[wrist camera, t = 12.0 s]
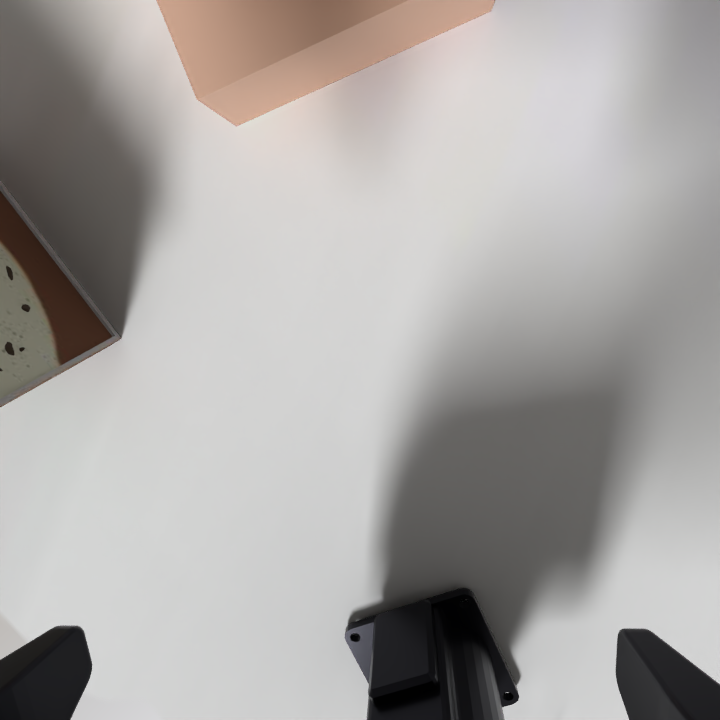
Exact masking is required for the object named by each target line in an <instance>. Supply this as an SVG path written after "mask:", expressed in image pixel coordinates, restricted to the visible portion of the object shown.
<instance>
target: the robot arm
mask: <svg viewBox="0 0 720 720" xmlns="http://www.w3.org/2000/svg"><path fill="white" fill-rule="evenodd" d="M462 599H467V600H468V601H467V602H461V601H460V600H462ZM353 633H357V634H359V635H353ZM345 640H346V642H347V644H348V646H349V648H350V649H351V651H352V653H353V655H354V657H355V659H356V661H357V663H358V664H359V666H360V668H361V670H362V672H363V674H364V676H365V678H366V679H367V681H368V683H369V689H368V694H369V699H368V711H367V720H504V715H503V710H502V707H504V706H508V705H512V704H514V703H516V702H517V701H518V699H519V695H518V690H517V686H516V684H515V682H514V680H513V678H512V675H511V673H510V671H509V669H508V667H507V665H506V662H505V660H504V658H503V656H502V654H501V652H500V649H499V647H498V645H497V643H496V641H495V639H494V636H493V634H492V632H491V630H490V628H489V626H488V623H487V621H486V619H485V617H484V615H483V613H482V610H481V608H480V606H479V604H478V602H477V600H476V597H475V595H474V594H473V592H472V591H471V590H469V589H466V588H461V589H457V590H454V591H451V592H448V593H445V594H441V595H438V596H435V597H432V598H429V599H426V600H422V601H419V602H416V603H413V604H410V605H407V606H403V607H400V608H397V609H394V610H391V611H388V612H384V613H381V614H378V615H375V616H372V617H369V618H365V619H362V620H359V621H356V622H353V623H351V624H349V625H348V626H347V627H346V633H345ZM91 671H92V661H91V657H90V653H89V649H88V645H87V641H86V637H85V633H84V631H83V629H82V628H81V627H79V626H57V627H54V628H52V629H50V630H49V631H47V632H46V633H44V634H42V635H41V636H39V637H37V638H36V639H34V640H32V641H31V642H29V643H27V644H26V645H24V646H22V647H21V648H19V649H18V650H16V651H14V652H13V653H11V654H9V655H8V656H6V657H4V658H3V659H1V660H0V720H70V719H71V717H72V715H73V713H74V711H75V708H76V706H77V704H78V702H79V700H80V698H81V696H82V694H83V692H84V690H85V688H86V685H87V683H88V681H89V679H90V675H91ZM616 678H617V684H618V688H619V691H620V694H621V697H622V700H623V702H624V705H625V708H626V711H627V714H628V717H629V720H720V684H719V683H717V682H716V681H715V680H713V679H712V678H711V677H710V676H708V675H707V674H706V673H704V672H703V671H702V670H701V669H699V668H698V667H697V666H695V665H694V664H693V663H691V662H690V661H689V660H688V659H686V658H685V657H684V656H682V655H681V654H680V653H679V652H677V651H676V650H675V649H673V648H672V647H671V646H670V645H668V644H667V643H666V642H664V641H663V640H662V639H660V638H659V637H658V636H657V635H655V634H654V633H653V632H651V631H649V630H647V629H622V630H620V631H619V634H618V640H617V658H616ZM506 692H509V693H506Z"/></svg>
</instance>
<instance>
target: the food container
mask: <svg viewBox="0 0 720 720" xmlns="http://www.w3.org/2000/svg"><path fill="white" fill-rule="evenodd" d="M120 339H121V337H120V336H119V335H118V333H117V332H116V331H115V330H114V328H113V327H112V326H111V324H110V323H109V322H108V320H107V319H106V318H105V316H104V315H103V314H102V313H101V311H100V310H99V309H98V307H97V306H96V305H95V303H94V302H93V301H92V299H91V298H90V297H89V296H88V294H87V293H86V292H85V290H84V289H83V288H82V286H81V285H80V284H79V282H78V281H77V280H76V279H75V277H74V276H73V275H72V273H71V272H70V271H69V269H68V268H67V267H66V265H65V264H64V263H63V262H62V260H61V259H60V258H59V256H58V255H57V254H56V252H55V251H54V250H53V248H52V247H51V246H50V245H49V243H48V242H47V241H46V239H45V238H44V237H43V235H42V234H41V233H40V231H39V230H38V229H37V228H36V226H35V225H34V224H33V222H32V221H31V220H30V218H29V217H28V216H27V214H26V213H25V212H24V211H23V209H22V208H21V207H20V205H19V204H18V203H17V201H16V200H15V199H14V198H13V196H12V195H11V194H10V192H9V191H8V190H7V188H6V187H5V186H4V184H3V183H2V182H1V181H0V407H2V406H4V405H5V404H7V403H9V402H11V401H12V400H14V399H16V398H18V397H20V396H21V395H23V394H25V393H27V392H28V391H30V390H32V389H34V388H36V387H37V386H39V385H41V384H43V383H44V382H46V381H48V380H50V379H52V378H53V377H55V376H57V375H59V374H61V373H62V372H64V371H66V370H68V369H69V368H71V367H73V366H75V365H77V364H78V363H80V362H82V361H84V360H85V359H87V358H89V357H91V356H93V355H94V354H96V353H98V352H100V351H101V350H103V349H105V348H107V347H108V346H110V345H112V344H113V343H115V342H116V341H118V340H120Z"/></svg>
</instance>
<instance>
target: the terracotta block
mask: <svg viewBox="0 0 720 720" xmlns="http://www.w3.org/2000/svg"><path fill="white" fill-rule="evenodd" d="M494 2H495V0H157V3H158V5H159V7H160V10H161V12H162V15H163V17H164V20H165V22H166V25H167V27H168V30H169V32H170V34H171V37H172V39H173V42H174V44H175V47H176V49H177V52H178V54H179V57H180V59H181V61H182V64H183V66H184V69H185V71H186V74H187V76H188V79H189V81H190V84H191V86H192V88H193V91H194V93H195V96H196V98H197V100H198V101H200V102H201V103H203V104H204V105H206V106H207V107H209V108H210V109H212V110H213V111H214V112H216V113H217V114H219V115H220V116H222V117H223V118H225V119H226V120H228V121H229V122H231V123H232V124H234V125H235V126H238V125H241V124H243V123H245V122H247V121H249V120H252V119H254V118H256V117H258V116H260V115H263V114H265V113H267V112H269V111H271V110H274V109H276V108H278V107H280V106H282V105H285V104H287V103H289V102H291V101H294V100H296V99H298V98H300V97H302V96H305V95H307V94H309V93H311V92H313V91H316V90H318V89H320V88H322V87H324V86H327V85H329V84H331V83H333V82H335V81H338V80H340V79H342V78H344V77H347V76H349V75H351V74H353V73H355V72H358V71H360V70H362V69H364V68H366V67H369V66H371V65H373V64H375V63H377V62H380V61H382V60H384V59H386V58H388V57H391V56H393V55H395V54H397V53H400V52H402V51H404V50H406V49H408V48H411V47H413V46H415V45H417V44H419V43H422V42H424V41H426V40H428V39H430V38H433V37H435V36H437V35H439V34H441V33H444V32H446V31H448V30H450V29H453V28H455V27H457V26H459V25H461V24H464V23H466V22H468V21H470V20H472V19H475V18H477V17H479V16H481V15H483V14H486V13H488V12H490V11H491V10H492V8H493V5H494Z"/></svg>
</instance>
